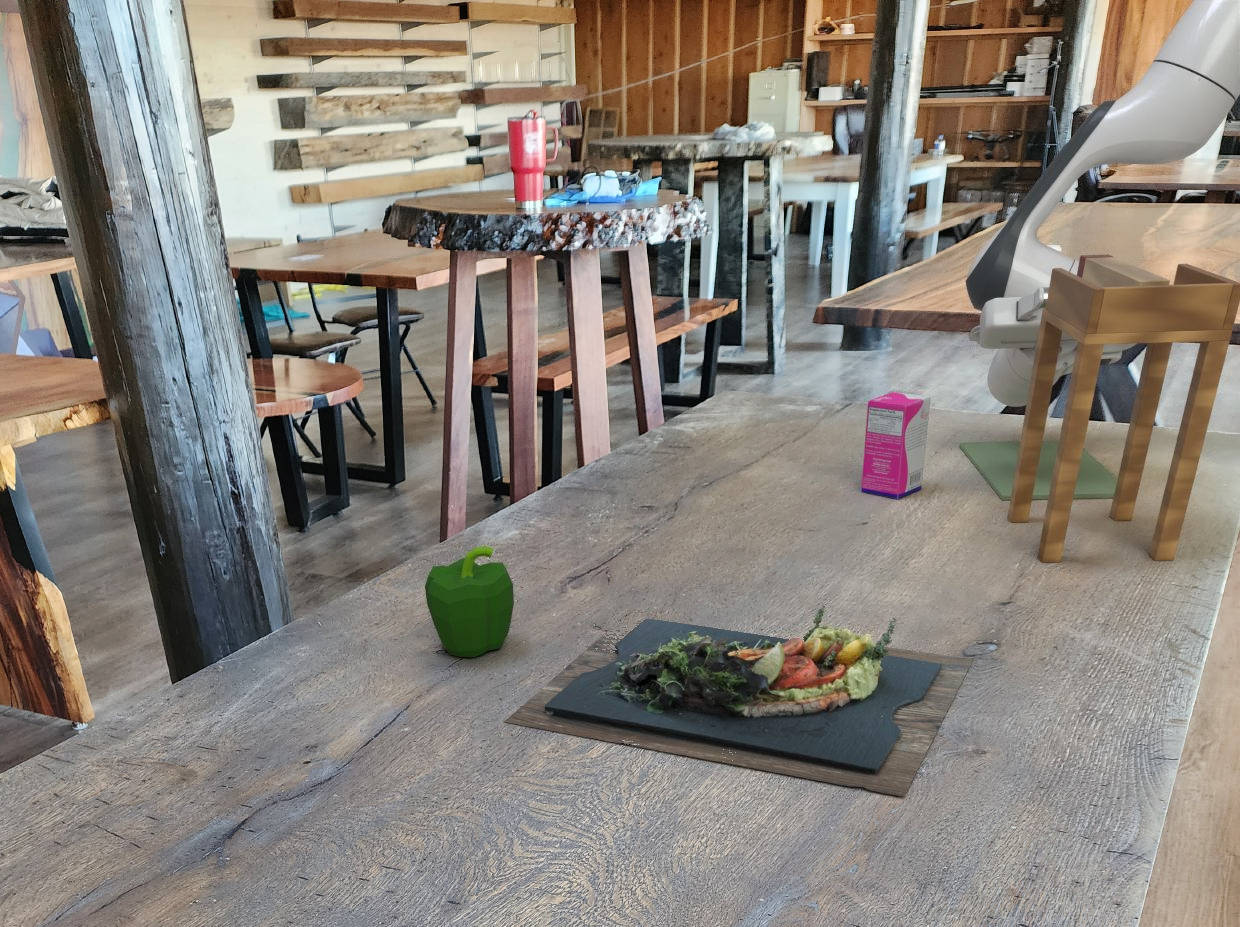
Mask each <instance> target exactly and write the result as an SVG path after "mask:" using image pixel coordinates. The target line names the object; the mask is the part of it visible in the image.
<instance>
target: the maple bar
mask: <svg viewBox="0 0 1240 927" xmlns="http://www.w3.org/2000/svg"><path fill="white" fill-rule="evenodd" d="M1078 261H1079V266H1078V271H1077V276H1079V277H1081V278H1083V279H1085V280H1087V281H1089V282H1091V283H1093V284H1095V285H1097V286H1099V287H1122V286H1153V285H1170V283H1171V280H1170V279H1168V278H1166V277H1163V276H1161V275H1158V274H1156V273H1153V272H1151V271H1148V270H1146V269H1143V268H1140V267H1138V266H1136V265H1133V264H1130V263H1128V262H1125V261H1124V260H1122V259H1118V258H1116V257H1114V256H1113V255H1111V254H1085V255H1084V254H1083V255H1082V254H1081V255H1079V260H1078Z"/></svg>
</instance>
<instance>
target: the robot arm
mask: <svg viewBox="0 0 1240 927" xmlns="http://www.w3.org/2000/svg"><path fill="white" fill-rule="evenodd" d="M1239 96H1240V0H1193V1H1192V2H1191V3H1190V5H1188V7H1187V8H1186V10H1185V12H1184V13H1183V14H1182V16H1181V17H1180V19H1179V20H1178V21H1177V22H1176V25H1175V26H1174V27H1173V29H1172V30H1171V32H1170V33H1169V34H1168V35H1167V38H1166V39H1165V41H1164V42H1163V44H1162V46H1161V47H1160V49H1159V50H1158V52H1157V54H1156V56H1154V59H1153V61H1152V62H1151V64H1150V66H1149V67H1148V69H1147V71H1146V72H1145V73H1144V75H1143V76H1142V77H1141V78H1140V79H1139V81H1138V82H1137V83H1136V84H1135V85H1134V86H1133V87H1132V88H1131V89H1130V90H1128V91H1127V92H1126V93H1125V94H1123V95H1122V96H1121V97H1119V98H1118V99H1113V100H1111V99H1110V100H1104V101H1103V102H1101V103H1100V104H1099V105H1098V106H1097V107H1095V109H1094V110H1092V112H1091V113H1090V114H1088V116H1087V117H1086V118H1085V120H1084V121H1083V122H1082V123H1081V124H1080V126H1079V127H1078V128H1077V130H1076V131H1075V132H1074V134H1073V135H1072V136H1071V137H1070V139H1068V141H1067V142H1066V143H1065V144H1064V145H1063V146H1062V148H1061V149H1060V150H1059V152H1057V154H1056V156H1054V158H1053V159H1052V161H1051V162H1050V163H1049V164H1048V166H1047V167H1046V169H1045V170H1044V171H1043V173H1042V174H1041V176H1040V177H1039V178H1038V179H1037V181H1036V182H1035V184H1034V185H1033V186H1032V187H1031V189H1030V190H1029V191H1028V193H1027V194H1026V196H1024V198H1023V199H1022V201H1021V202H1020V203H1019V205H1017V207H1016V209H1015V211H1014V212H1013V213H1012V215H1011V216H1010V217H1009V219H1008V220H1007V221H1006V222H1005V223H1004V224H1003V225H1002V226H1001V227H1000V228H999V229H998V230H997V231H996V232H995V233H994V234H993V235H992V236H991V237H990V239H988V240H987V242H986V243H985V244H984V245H983V246H982V247H981V249H979V251H978V252H977V254H976V255H975V257H974V259H973V261H972V262H971V264H970V267H969V269H968V271H967V277H966V279H965V282H964V283H965V287H966V291H967V296H968V298H969V301H970V303H971V305H972V307H973V309H975V310H977V311H979V312H980V314H979V315H980V316H979V325H977V326H974V327H973V328H972V329H971V331H969V335H968V339H969V341H970V342H977V344H978V345H979V346H980V347H981V348H983V349H986V350H997V351H996V352H995V354H994V356H993V358H992V361H991V363H990V365H989V367H988V371H987V378H986V381H987V387H988V390H989V392H990V394H991V396H992V397H993V398H994V399H995V400H996V401H997V402H998V403H1000V404H1002V405H1005V406H1007V407H1013V408H1017V407H1024V406H1026V404H1027V399H1028V393H1029V387H1030V381H1031V375H1032V369H1033V363H1034V357H1035V352H1036V346H1037V340H1038V334H1039V328H1040V322H1041V316H1042V310H1043V308H1046V303H1047V297H1048V291H1049V285H1050V280H1051V274H1052V269H1053V268H1062V269H1064V270H1066V271H1068V272H1070V273H1073V274H1075V275H1077V271H1078V266H1079V260H1078V259H1076V258H1072V257H1071V256H1069V255H1066V254H1065V253H1063V252H1061V251H1059V250H1057V249H1055V248H1053V247H1051V246H1049V245H1047V244H1046V243H1043V242H1042V241H1041V240H1040V239H1039V238H1038V231H1039V229H1040V228H1041V226H1042V225H1043V224H1044V223H1045V221H1046V220H1047V219H1048V218H1049V216H1050V215H1051V214H1052V212H1053V211H1054V210H1055V209H1056V207H1057V206H1058V205H1059V203H1060V202H1061V201H1062V199H1063V198H1064V197H1065V196H1066V194H1067V193H1068V192H1069V191H1070V189H1071V188H1072V186H1074V184H1075V183H1076V181H1077V180H1078V179H1079V178H1080V177H1081V176H1082V175H1084V174H1085V173H1087V172H1088V171H1090V170H1092V169H1094V168H1097V167H1100V166H1105V165H1116V164H1117V165H1118V164H1121V165H1124V164H1125V165H1147V166H1150V165H1152V166H1153V165H1166V164H1170V163H1176V162H1178V161H1181V160H1183V159H1186V158H1188V157H1190V156H1192V155H1194V154H1195V153H1197V152H1198V151H1199V150H1201V149H1202V148H1203V147H1204V146H1205V145H1207V143H1208V141H1209V140H1210V139H1211V138H1212V137H1213V136H1214V134H1215V133H1216V131H1217V130H1218V128H1219V127H1220V126H1221V125H1222V123H1223V121H1224V120H1225V119H1226V117H1227V116H1228V114H1229V113H1230V111H1231V109H1232V108H1233V106H1234V104H1235V103H1236V101H1237V100H1238V98H1239ZM1077 343H1078V341H1077V340H1075V339H1074V338H1072V337H1071V336H1069V335H1068V334H1066V333H1064V332H1063V331H1062V337H1061V342H1060V348H1059V353H1058V359H1057V364H1056V370H1055V375H1054V381H1053V386H1055V384H1056V383H1057V382H1058V381H1059V379H1060V378H1061V377H1062V376H1065V375H1069V374H1072V370H1073V365H1074V359H1075V354H1076V349H1077ZM1137 344H1138V343H1132V344H1104V347H1103V352H1102V357H1101V362H1100V366H1105V365H1110V364H1115V363H1117V362H1118V361H1120V360H1121V359H1122V355H1123V351H1126V350H1129V349H1131V348H1132V347H1134V346H1136V345H1137Z"/></svg>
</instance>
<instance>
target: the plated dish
mask: <svg viewBox="0 0 1240 927" xmlns="http://www.w3.org/2000/svg"><path fill="white" fill-rule="evenodd" d="M825 608H826V606H825V605H824V604H823V605H822V607H820V608H819V609H818V610H817V613H816V614H815V617H814V620H812V622H813V624H815V625H814V626H813V627H812V628H811V629H809V630H808V633H805V634H804V635H805V636H804V637H803V638H804V639H803V640H804V642H803V641H802V639H800V638H793V639H790V640H789V639H783V638H777V637H770V636H764V635H758V634H751V633H744V632H738V631H731V630H725V629H718V628H713V627H706V626H698V625H692V624H684V623H677V622H669V621H663V620H655V619H647V618H644V619H645V620H643V622H641V621H637V622H641V623H633V624H639V625H636V626H637V627H635V628H634V629H633V630H632V631H630V632H629V633H628V634H627V635H626V636H625V637H624V638H623V639H619V638H617V639H615V638H613V637H609V638H606V637H605V636H603V635H604V634H607V631H606V632H604V634H602V635H601V636H602V637H601V636H600V637H599V638H598V639H596V640H595V641H594V642H593V643H592V644H591V645H590V646H589V647H587V649H585V650H584V651H583V652H582V653H580V654H579V656H577V657H576V658H575V659H574V660H572V661H571V662H570V663H569V664H568V665H567V666H566V667H565V668H563V669H562V670H561V671H560V672H559V673H558V674H557V675H555V677H554V678H553V679H551V680H550V681H548V683H547V684H545V685H544V686H543V687H542V688H541V689H540V690H538V691H537V692H536V693H535V694H534V695H533V696H532V697H531V698H530V699H528V700H527V701H526V702H525V703H524V704H523V705H521V706H520V708H518V709H517V710H516V711H515V712H513V713H512V714H511V715H510V716H509V717H508V718H506V719H505V720H504V721H503V722H504V723H507V724H512V725H513V724H514V725H518V726H524V727H529V728H535V729H540V730H547V731H551V732H555V733H561V734H567V735H571V736H572V735H573V736H576V737H583V738H588V739H594V740H599V741H600V740H601V741H604V742H611V743H616V744H621V743H624V744H623V745H626V744H627V745H628V746H630V747H631V746H632V747H638V748H644V749H648V750H653V751H657V752H658V751H659V752H663V753H664V752H665V753H669V754H674V755H675V754H676V755H680V756H687V757H691V758H696V759H702V760H705V761H706V760H707V761H713V762H719V763H723V764H729V765H734V766H737V767H738V766H739V767H744V768H749V769H753V770H761V771H765V772H770V773H776V774H780V775H786V776H791V777H796V778H802V779H807V780H813V781H819V782H825V783H829V784H834V785H839V786H845V787H850V788H864V790H867V791H871V792H877V793H882V794H887V795H893V796H898V797H904V798H905V796H906V794H907V792H908V790H909V788H910V786H911V784H912V782H913V780H914V778H915V776H916V773H917V771H918V770H919V768H920V766H921V765H922V762H923V760H924V758H925V756H926V754H927V753H928V750H929V748H930V746H931V744H932V742H933V740H934V738H935V736H936V734H937V733H938V731H939V729H940V727H941V724H942V723H943V720H944V719H945V716H946V715H947V713H948V710H949V709H950V706H951V705H952V703H953V701H954V699H955V697H956V695H957V693H958V691H959V690H960V687H961V684H962V683H963V681H964V679H965V677H966V675H967V673H968V671H969V669H970V667H971V665H972V663H973V661H974V659H973V658H965V657H959V656H953V655H951V656H950V655H944V654H938V653H930V652H924V651H923V652H922V651H917V650H910V649H903V648H896V647H889V646H888V645H890V644H891V643H892V642H893V640H892V639H891V635H893V634H894V631H895V629H894V628H895V627H896V624H895V623H896V622H897V617H893V618H892V620H891V619H890V620H889V621H888V622H889V624H888V626H887V628H888V629H887V630H886V632H887V633H885V632H883V633H882V637H881V639H879V640H878V641H876V643H875V641H874V639H873V637H872V635H871V634H870V633H865V634H861V635H860V634H856V633H853V631H851V630H850V629H848V628H840V627H839V628H838V627H837V628H835V627H832V626H831V625H830V624H828V625H824V626H823V625H822V626H820V624H821V623H822V622H823V621H822V620H823V617H824V613H825ZM634 613H636V612H634ZM625 616H626V615H625ZM626 617H628V616H626ZM632 617H637V616H632ZM624 619H626V620H629V619H628V618H624ZM620 620H623V617H622V618H621V619H620ZM620 620H619V621H618V622H619V624H622V623H623V622H622V621H620ZM633 620H640V619H633ZM624 624H628V622H624ZM616 627H620V625H618V626H616ZM622 628H626V627H622ZM608 630H612V629H610V628H609V629H608ZM616 631H618V632H620V630H616ZM609 632H613V631H609ZM625 632H628V631H625ZM609 635H613V636H617V635H616V633H614V634H609ZM609 635H608V634H607V635H606V636H609ZM619 636H624V635H619ZM890 639H891V640H890ZM604 640H609V641H607V642H605V641H604ZM611 640H616V641H618V640H620V641H619V642H616V643H615V644H614V643H613V642H612V641H611ZM603 644H609V645H610V644H612V645H614V646H615V648H616V649H617V650H613V649H612V648H611V647H610V646H609V645H607V646H604V645H603ZM595 648H598V649H597V650H596V649H595ZM607 648H611V649H609V650H608V649H607ZM602 649H606V650H605V651H604V650H602ZM610 650H612V651H615V652H613V653H610V652H612V651H610ZM647 680H649V682H648V683H645V684H642V685H640V686H639V685H638V684H640V683H641V682H642V681H644V682H646V681H647ZM622 740H625V741H633V742H624V741H622ZM629 744H639V745H629ZM627 745H626V746H627ZM723 749H724V750H723ZM729 750H730V751H729ZM729 752H732V753H729ZM735 752H736V753H735ZM722 753H723V754H722ZM732 754H733V755H732ZM724 757H726V758H724ZM732 760H733V761H732ZM721 761H724V762H721Z"/></svg>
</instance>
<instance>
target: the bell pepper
mask: <svg viewBox="0 0 1240 927" xmlns="http://www.w3.org/2000/svg"><path fill="white" fill-rule="evenodd" d="M493 552H494V547H491V546H486V545H484V546H478V547H477V546H476V547H474V548H473V549H471V550H470V551H468V552H467V553H466V554H465V556H464V557H462V558H460V559H458V560H456V561H455V562H452V563H450V564H448V565H433V566H432V567H431V569H430V571H429V573H428V575H427V578H426V581H425V584H424V591H425V596H426V597H425V598H426V604H427V605H426V606H427V607H428V612H429V614H430V617H431V620H432V623H433V625H434V628H435V630H436V634H437V635H438V638H439V640H440V643H441V644H442V645H443V648H444V649H445V650H446V651H447V653H448V654H449V655H452V656H455V657H459V658H475V657H478V656H481V655H483V654H486V652H488V651H494V650H499V649H501V648H502V647H503V645H504V643H505V642H506V639H507V637H508V636H509V631H510V628H511V624H512V622H511V621H512V617H513V613H514V612H513V611H514V606H515V595H514V583H513V581H512V578H511V576H510V574H509V572H508V570H507V568H506V565H505V564H504V562H487V563H484V564H481V565H480V564H478V563H477V562H475V561H476V560H477V559H478V558H479V557H486V558H489V559H491V558H492V555H493Z"/></svg>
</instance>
